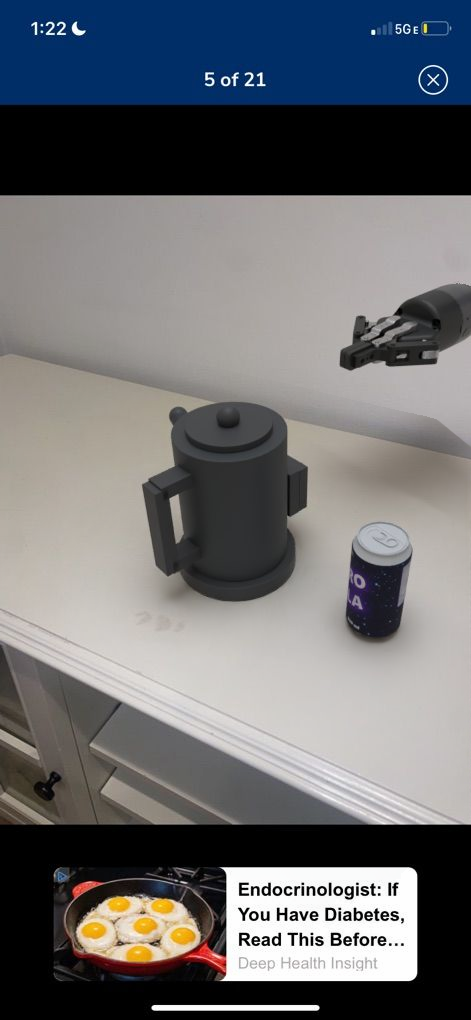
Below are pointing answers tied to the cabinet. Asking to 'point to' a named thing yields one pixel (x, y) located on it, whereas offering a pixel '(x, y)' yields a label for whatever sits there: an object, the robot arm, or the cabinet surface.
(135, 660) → the cabinet surface
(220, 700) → the cabinet surface
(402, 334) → the robot arm
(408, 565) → the beverage can
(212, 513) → the kettle
